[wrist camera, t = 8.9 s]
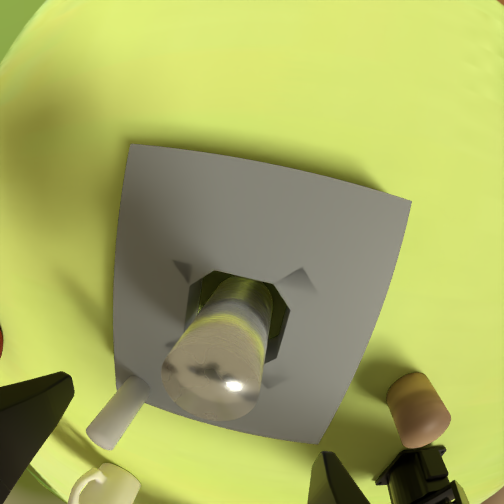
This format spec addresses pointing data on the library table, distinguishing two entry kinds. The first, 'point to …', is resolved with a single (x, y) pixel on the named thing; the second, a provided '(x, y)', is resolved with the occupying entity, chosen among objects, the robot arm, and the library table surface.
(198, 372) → the long pin
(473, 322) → the library table surface
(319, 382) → the grey peg base
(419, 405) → the short pin
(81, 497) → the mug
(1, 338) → the apple
